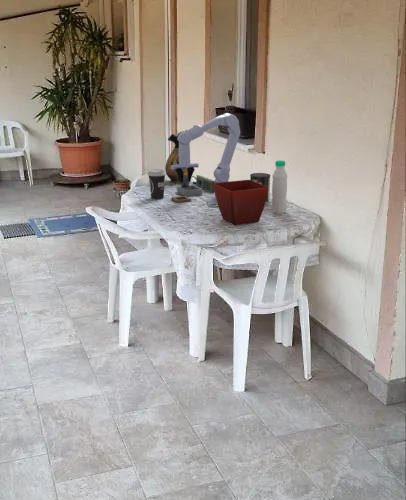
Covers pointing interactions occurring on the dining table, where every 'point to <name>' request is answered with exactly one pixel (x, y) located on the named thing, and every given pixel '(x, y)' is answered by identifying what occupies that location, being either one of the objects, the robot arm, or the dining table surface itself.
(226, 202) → the plant pot
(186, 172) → the battery cell
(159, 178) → the coffee cup
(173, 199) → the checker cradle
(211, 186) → the handheld radio
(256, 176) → the coffee can
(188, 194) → the cell bin
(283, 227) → the dining table surface
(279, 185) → the water bottle
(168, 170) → the ceramic jug
